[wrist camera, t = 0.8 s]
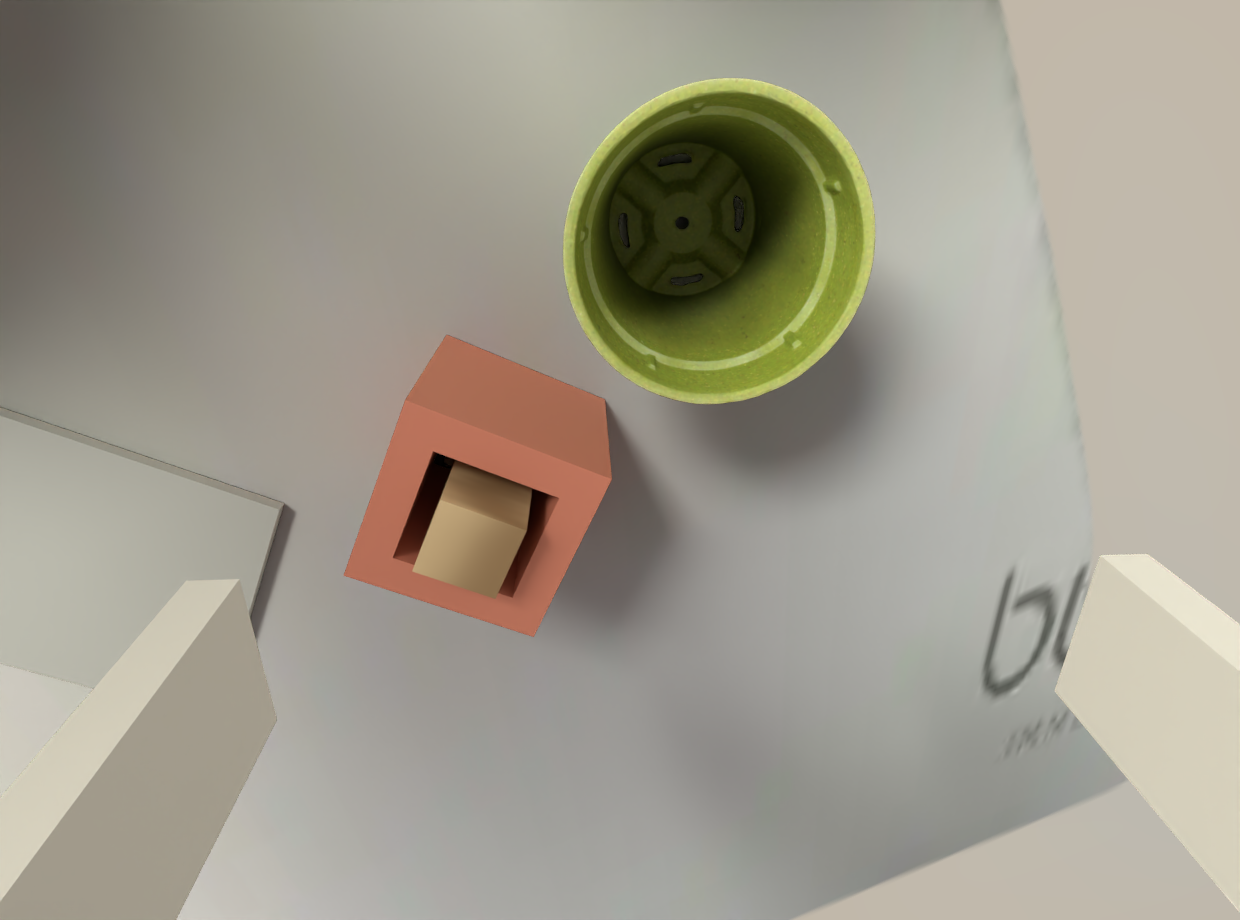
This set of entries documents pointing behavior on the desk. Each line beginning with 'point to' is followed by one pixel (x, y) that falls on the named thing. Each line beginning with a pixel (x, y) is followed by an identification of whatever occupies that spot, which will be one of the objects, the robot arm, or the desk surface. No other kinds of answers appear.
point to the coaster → (108, 545)
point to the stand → (475, 529)
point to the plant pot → (719, 241)
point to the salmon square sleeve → (500, 444)
